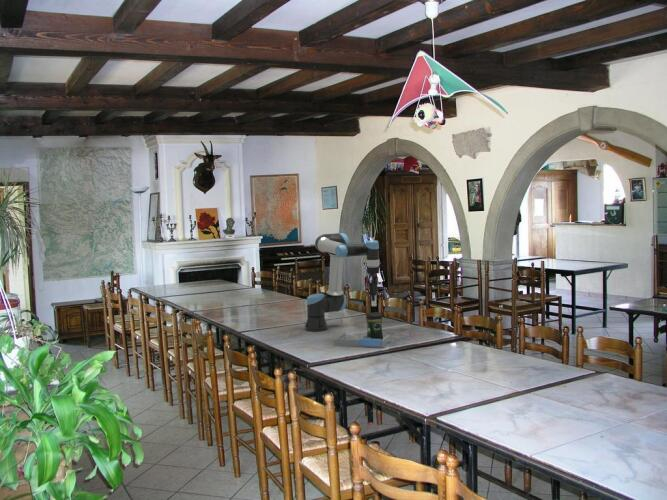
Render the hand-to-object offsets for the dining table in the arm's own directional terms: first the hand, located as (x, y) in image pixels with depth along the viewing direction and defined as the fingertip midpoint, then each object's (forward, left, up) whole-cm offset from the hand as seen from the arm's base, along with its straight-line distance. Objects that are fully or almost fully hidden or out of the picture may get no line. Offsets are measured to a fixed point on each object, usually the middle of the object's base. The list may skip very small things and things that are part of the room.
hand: (374, 305), depth 387 cm
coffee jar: (0, 0, -23) cm, 23 cm away
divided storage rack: (+2, -7, -23) cm, 24 cm away
